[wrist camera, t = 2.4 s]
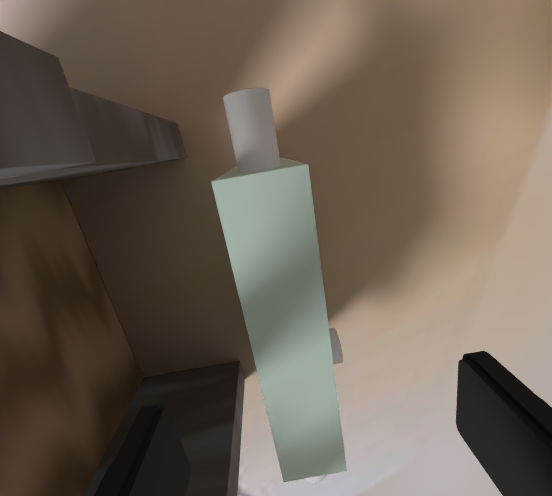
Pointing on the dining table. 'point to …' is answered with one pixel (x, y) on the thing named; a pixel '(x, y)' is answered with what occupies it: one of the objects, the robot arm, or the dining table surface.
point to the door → (281, 289)
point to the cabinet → (82, 300)
